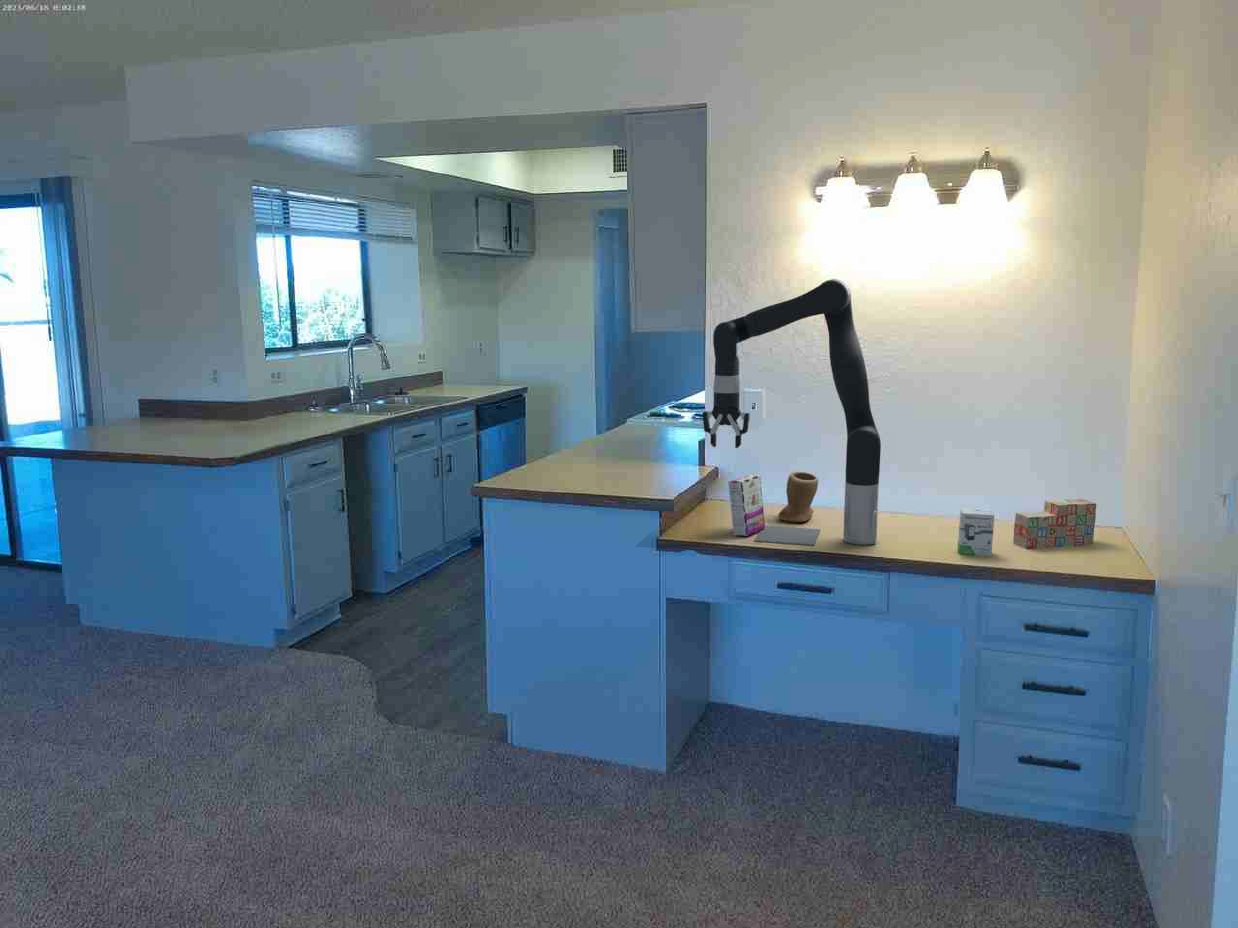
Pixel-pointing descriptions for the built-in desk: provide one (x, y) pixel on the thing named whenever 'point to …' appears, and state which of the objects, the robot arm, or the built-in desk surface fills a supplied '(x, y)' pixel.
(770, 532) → the mat
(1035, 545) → the stack of blocks
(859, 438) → the robot arm
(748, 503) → the candy bar box
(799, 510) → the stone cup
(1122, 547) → the built-in desk surface
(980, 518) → the ink box
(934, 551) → the built-in desk surface
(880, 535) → the built-in desk surface
